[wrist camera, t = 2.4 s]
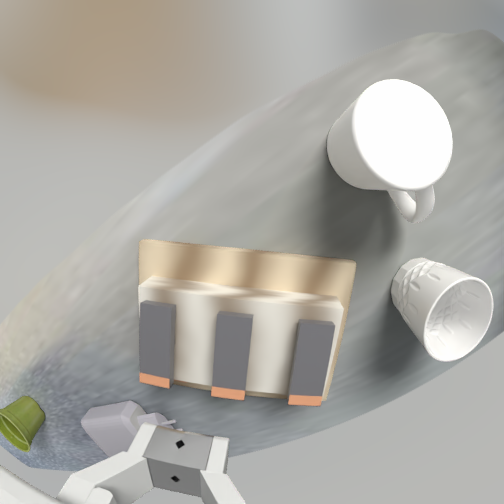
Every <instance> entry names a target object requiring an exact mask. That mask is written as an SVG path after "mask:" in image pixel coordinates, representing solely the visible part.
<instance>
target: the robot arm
mask: <svg viewBox="0 0 504 504" xmlns="http://www.w3.org/2000/svg"><path fill="white" fill-rule="evenodd" d="M228 452H229V438H224V437H217V436H211V435H204V434H198V433H192V432H185V431H180V430H176V429H171V428H167V427H163V426H159V425H155V424H151V423H147V422H144V423H143V424H142V425H141V427H140V429H139V430H138V432H137V434H136V436H135V438H134V440H133V442H132V444H131V445H130V447H129V449H128V451H127V452H124V451H122V452H120V453H118V454H116V455H114V456H112V457H110V458H108V459H105V460H103V461H101V462H99V463H97V464H94V465H92V466H90V467H88V468H85V469H83V470H81V471H78V472H76V473H74V474H71V476H70V477H69V479H68V480H67V482H66V483H65V485H64V487H63V488H62V490H61V491H60V493H59V494H58V496H57V497H56V499H55V498H53V497H51V496H50V495H48V494H45V493H44V492H42V491H41V490H39V489H37V488H35V487H34V486H32V485H30V484H29V483H27V482H25V481H24V480H22V479H21V478H19V477H18V476H16V475H15V474H13V473H12V472H10V471H9V470H7V469H5V468H4V467H3V466H1V465H0V504H131V503H133V502H134V501H136V500H137V499H139V498H140V497H141V496H143V495H144V494H146V493H147V492H149V491H150V490H152V489H153V487H157V488H161V489H166V490H170V491H175V492H180V493H184V494H189V495H194V496H198V497H202V500H203V502H204V504H246V502H245V501H244V499H243V498H242V496H241V495H240V493H239V492H238V490H237V489H236V487H235V486H234V484H233V482H232V481H231V479H230V478H229V476H228V475H227V474H226V471H227V463H228Z"/></svg>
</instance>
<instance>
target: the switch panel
mask: <svg viewBox="0 0 504 504" xmlns="http://www.w3.org/2000/svg"><path fill="white" fill-rule="evenodd" d="M356 264H357V263H356V262H355V261H353V260H348V259H338V258H329V257H319V256H309V255H299V254H289V253H279V252H269V251H260V250H250V249H240V248H230V247H220V246H210V245H200V244H190V243H180V242H170V241H159V240H149V239H144V240H141V241H139V286H138V294H139V317H140V303H141V302H143V301H145V300H149V301H155V302H162V303H168V304H175V305H176V320H175V345H174V383H173V384H176V385H181V386H187V387H192V388H198V389H204V390H211V391H212V377H213V362H214V348H215V334H216V321H217V314H218V312H219V311H227V312H236V313H245V314H254V316H253V325H252V335H251V344H250V354H249V363H248V372H247V382H246V391H245V395H249V396H258V397H269V398H281V399H287V395H288V389H289V383H290V377H291V371H292V365H293V358H294V351H295V345H296V338H297V331H298V323H299V319H307V320H320V321H332V322H333V323H334V324H335V331H334V337H333V343H332V349H331V354H330V360H329V365H328V370H327V375H326V380H325V385H324V390H323V395H322V400H321V401H326V398H327V395H328V391H329V388H330V384H331V380H332V377H333V373H334V369H335V365H336V361H337V357H338V353H339V349H340V345H341V340H342V336H343V331H344V327H345V322H346V318H347V313H348V308H349V303H350V298H351V293H352V287H353V282H354V276H355V270H356Z"/></svg>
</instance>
